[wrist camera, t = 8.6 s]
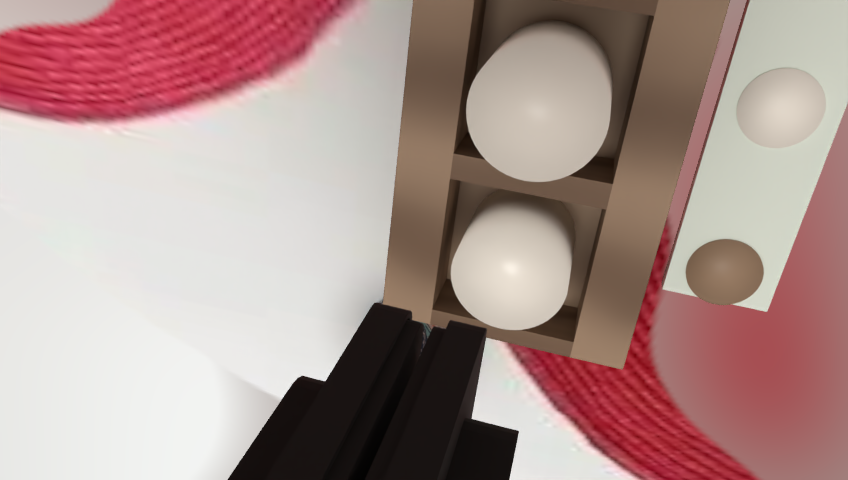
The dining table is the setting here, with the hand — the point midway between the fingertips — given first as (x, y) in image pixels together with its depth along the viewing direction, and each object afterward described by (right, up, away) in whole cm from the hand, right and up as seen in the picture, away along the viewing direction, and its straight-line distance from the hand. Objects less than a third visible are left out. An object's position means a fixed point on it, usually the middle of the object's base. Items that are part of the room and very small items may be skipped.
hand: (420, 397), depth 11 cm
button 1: (+5, +3, +23) cm, 23 cm away
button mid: (+5, +8, +17) cm, 20 cm away
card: (+14, +8, +19) cm, 25 cm away
